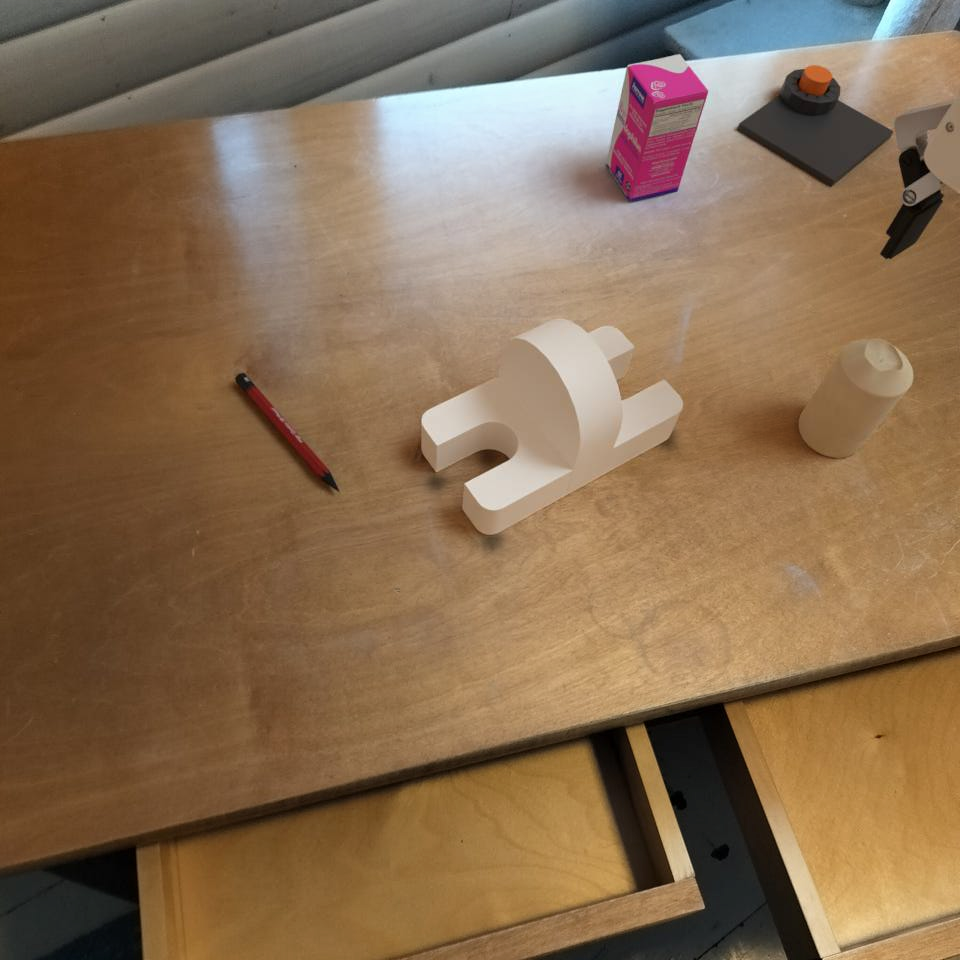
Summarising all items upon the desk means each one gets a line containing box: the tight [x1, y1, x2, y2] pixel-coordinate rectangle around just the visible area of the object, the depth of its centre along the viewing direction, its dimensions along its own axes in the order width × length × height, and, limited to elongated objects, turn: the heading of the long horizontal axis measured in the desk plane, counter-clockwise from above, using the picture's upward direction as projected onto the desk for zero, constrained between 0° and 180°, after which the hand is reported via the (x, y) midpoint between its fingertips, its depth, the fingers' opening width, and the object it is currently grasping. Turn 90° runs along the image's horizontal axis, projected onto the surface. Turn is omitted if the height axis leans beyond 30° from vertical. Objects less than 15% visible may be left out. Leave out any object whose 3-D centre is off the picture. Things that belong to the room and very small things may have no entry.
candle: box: [797, 338, 915, 459], centre depth 67 cm, size 6×6×10 cm
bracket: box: [420, 317, 684, 536], centre depth 64 cm, size 19×10×11 cm, turn 123°
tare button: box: [799, 64, 833, 96], centre depth 92 cm, size 3×3×2 cm
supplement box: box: [605, 53, 709, 203], centre depth 81 cm, size 6×6×12 cm
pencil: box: [234, 372, 341, 493], centre depth 67 cm, size 1×14×1 cm, turn 40°
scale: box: [736, 68, 895, 188], centre depth 91 cm, size 12×12×2 cm
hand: (940, 280), depth 56 cm, fingers open, 6 cm apart
